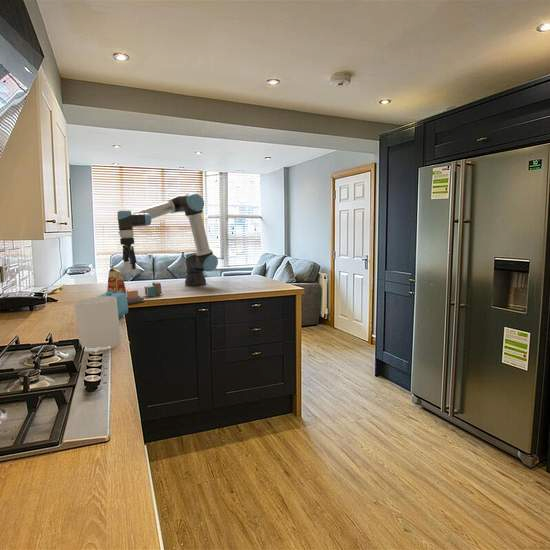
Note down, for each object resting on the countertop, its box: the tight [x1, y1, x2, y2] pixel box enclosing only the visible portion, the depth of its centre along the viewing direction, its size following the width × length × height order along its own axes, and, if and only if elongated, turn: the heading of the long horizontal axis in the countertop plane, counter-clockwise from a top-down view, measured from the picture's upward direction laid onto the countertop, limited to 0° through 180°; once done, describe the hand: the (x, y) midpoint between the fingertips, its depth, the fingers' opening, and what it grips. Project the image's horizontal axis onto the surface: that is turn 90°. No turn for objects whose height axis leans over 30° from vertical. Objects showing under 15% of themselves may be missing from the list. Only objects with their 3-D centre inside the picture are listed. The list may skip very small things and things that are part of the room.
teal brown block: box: [144, 281, 163, 297], centre depth 246 cm, size 9×7×8 cm
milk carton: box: [106, 266, 127, 293], centre depth 242 cm, size 9×9×20 cm
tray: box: [127, 294, 145, 305], centre depth 229 cm, size 10×10×2 cm
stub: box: [126, 288, 139, 300], centre depth 229 cm, size 5×5×6 cm
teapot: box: [96, 290, 129, 319], centre depth 190 cm, size 22×11×14 cm, turn 175°
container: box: [74, 296, 122, 349], centre depth 149 cm, size 14×14×18 cm
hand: (130, 273), depth 227 cm, fingers open, 13 cm apart
